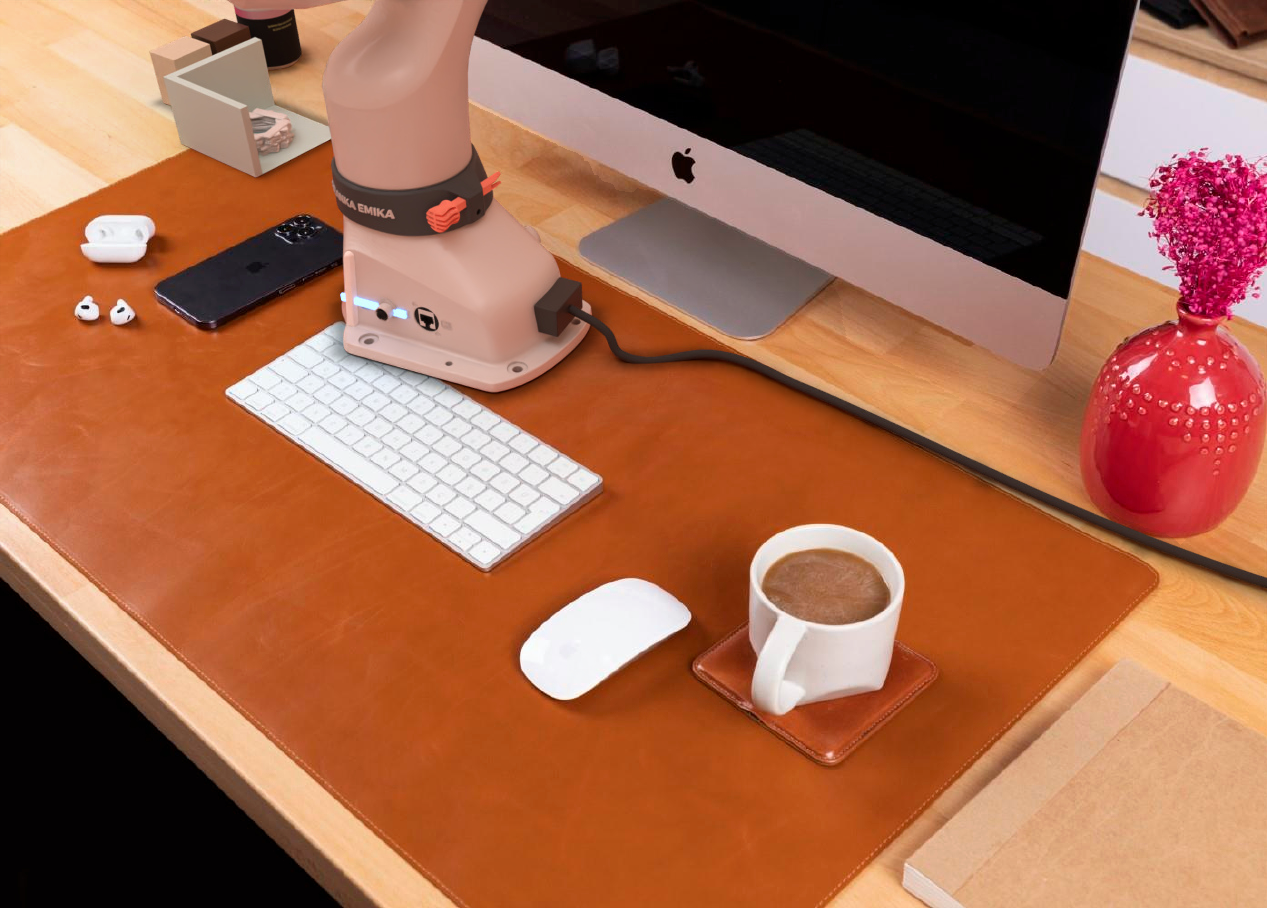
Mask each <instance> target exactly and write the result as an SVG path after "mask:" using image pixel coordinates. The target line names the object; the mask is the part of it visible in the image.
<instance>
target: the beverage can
mask: <svg viewBox="0 0 1267 908" xmlns="http://www.w3.org/2000/svg"><path fill="white" fill-rule="evenodd" d="M232 5H233V9H234V14H235V18H236V22H237V23H240V24H243V25H246V26H248V27H249V31H250V35H251V39H252V38H254V37H256V38H258V39H261V40H262V45H263V50H264V55H265V59H266V64H267V69H268V71H275V70H281V69H286V68H288V67H290V66H293V65H294V64H295V63H297V62H298V61H299V59H300V58H301V57H302V55H303V51H302V46H301V41H300V35H299V34H300V33H299V29H298V24H297V19H296V14H295V9H284V10H267V9H241V8H238V7H237V6H235V5H234V4H232Z"/></svg>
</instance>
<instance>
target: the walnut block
mask: <svg viewBox="0 0 1267 908" xmlns="http://www.w3.org/2000/svg"><path fill="white" fill-rule="evenodd" d="M190 38H193V39H196V40H199V41H202V42H205V43H208V44H210V48H211V52H212V56H213V55H215V54H217V53H220V52H222V51H224V50H227V49H229V48H231V47H234V46H236V45H238V44H241V43H243V42H245V41H247V40H250V39H251V35H250V31H249V27H248V26H246V25H243V24H240V23H237V21H234V20H230V19H227V18H222V19H220V20H218V21H216V22H213V23H211V24H209V25H206V26H204V27H202V28H200V29H198V30H195V31H193V32H191V33H190Z"/></svg>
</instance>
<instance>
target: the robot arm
mask: <svg viewBox="0 0 1267 908" xmlns="http://www.w3.org/2000/svg"><path fill="white" fill-rule="evenodd" d="M227 1H228V2H229V3H230V4H232V5H233V4H234V5H235V6H237V7H238V8H241V9H267V10H284V9H294V10H309V9H312V8H316V7H322V6H326V5H332V4H336V3H341V2H346V1H347V0H227ZM488 1H489V0H374V1H373V4H372V6H371V8H370V9H369V11H368V13H367V14H366V16H365V17H364V19H363V20H362V21H361V22H360V23H359V24H358V25H357V26H356V27H355V28H354V29H353V30H351V32H349V33H348V34H347V35H345V37H344V38H342V39H341V40H340V41H339V43H337V44H336V46H335V47H334V48H333V50H332V51H331V53H330V55H329V57H328V59H327V61H326V64H325V68H324V71H323V75H322V82H321V88H322V93H323V94H322V95H323V100H324V105H325V111H326V117H327V124H328V127H329V129H330V135H331V139H330V140H331V145H332V151H333V156H332V159H331V163H330V167H331V176H332V180H331V185H332V190H333V194H334V197H335V202H336V206H337V208H338V210H339V211H340V213H341V214H342V218H343V235H342V236H343V237H342V238H343V240H342V241H343V242H342V249H343V250H342V267H343V285H344V289H343V292H341V293H340V299H341V314H342V316H343V319H344V322H345V326H344V330H343V334H342V336H343V337H342V339H343V340H342V343H343V349H344V350H345V352H346V353H349V354H351V355H354V356H358V357H362V358H365V359H368V360H372V361H376V362H380V363H383V364H387V365H390V366H393V367H398V368H401V369H403V370H404V369H405V370H408V371H411V372H416V373H419V374H423V375H425V376H426V375H427V376H429V377H433V378H437V379H440V380H444V381H447V382H451V383H455V384H457V385H462V386H466V387H468V388H469V387H470V388H474V389H476V390H481V391H483V392H488V393H499V392H504V391H507V390H511V389H515V388H516V387H520V386H522V385H524V384H527V383H528V382H530V381H533V380H535V379H536V378H538V377H540V376H541V375H543V374H544V373H546V372H547V371H549V370H551V369H552V368H553V367H554V366H556V365H557V364H558V363H560V362H561V361H562V360H563V359H565V358H566V357H567V356H568V355H569V354H570V353H572V351H574V350H575V349H576V347H577V346H578V345H579V344H580V343H581V342H582V340H583V339H584V338H585V337H586V335H587V333H588V331H589V330H590V327H593V328H594V329H596V330H597V331H598V332H600V334H601V335H603V337H604V338H605V340H606V342H607V344H608V347H609V349H610V351H611V353H612V354H613V355H614V357H616V358H618V359H619V360H622V361H624V362H626V363H630V364H635V365H645V364H665V363H676V362H684V361H690V360H699V359H712V360H720V361H725V362H730V363H733V364H737V365H740V366H743V367H745V368H748V369H751V370H753V371H756V372H758V373H760V374H762V375H765V376H767V377H769V378H771V379H773V380H775V381H777V382H779V383H781V384H782V385H785V386H787V387H790V388H792V389H794V390H797V391H799V392H801V393H803V394H806V395H808V396H810V397H813V398H814V399H815V398H816V399H818V400H820V401H822V402H825V403H827V404H828V405H829V404H830V405H831V406H833V407H836V408H838V409H841V410H842V411H845V412H847V413H849V414H851V415H852V416H853V415H854V416H856V417H858V418H860V419H862V420H864V421H867V422H868V423H871V424H873V425H875V426H878V427H880V428H882V429H884V430H886V431H888V432H891V433H893V434H895V435H897V436H899V437H901V438H903V439H906V440H907V441H910V442H912V443H914V444H915V445H918V446H919V447H920V446H921V447H923V448H924V449H927V450H929V451H931V452H932V453H935V454H937V455H939V456H942V457H944V458H946V459H947V460H950V461H951V462H955V463H956V464H959V465H960V466H963V467H966V468H967V469H970V470H971V471H973V472H975V473H978V474H980V475H982V476H985V477H987V478H988V479H991V480H993V481H995V482H997V483H999V484H1002V485H1003V486H1006V487H1008V488H1011V489H1013V490H1014V491H1017V492H1019V493H1021V494H1023V495H1025V496H1028V497H1030V498H1032V499H1035V500H1036V501H1039V502H1040V503H1044V504H1046V505H1048V506H1050V507H1053V508H1055V509H1057V510H1060V511H1061V512H1064V513H1066V514H1069V515H1071V516H1073V517H1076V518H1077V519H1080V520H1083V521H1085V522H1088V523H1090V524H1091V525H1094V526H1097V527H1099V528H1101V529H1104V530H1106V531H1109V532H1111V533H1114V534H1116V535H1118V536H1121V537H1124V538H1125V539H1128V540H1131V541H1133V542H1136V543H1138V544H1141V545H1143V546H1145V547H1148V548H1151V549H1153V550H1156V551H1158V552H1161V553H1164V554H1167V555H1169V556H1172V557H1175V558H1177V559H1180V560H1181V561H1182V560H1183V561H1185V562H1188V563H1191V564H1193V565H1196V566H1199V567H1202V568H1203V569H1206V570H1210V571H1212V572H1216V573H1219V574H1221V575H1224V576H1227V577H1229V578H1233V579H1236V580H1239V581H1241V582H1245V583H1247V584H1250V585H1254V586H1257V587H1260V588H1263V589H1267V577H1266V576H1264V575H1260V574H1257V573H1254V572H1251V571H1249V570H1245V569H1242V568H1239V567H1236V566H1233V565H1230V564H1227V563H1224V562H1221V561H1218V560H1216V559H1213V558H1210V557H1207V556H1204V555H1201V554H1199V553H1196V552H1193V551H1190V550H1188V549H1185V548H1183V547H1180V546H1177V545H1174V544H1172V543H1169V542H1166V541H1163V540H1161V539H1158V538H1156V537H1154V536H1151V535H1149V534H1146V533H1143V532H1140V531H1138V530H1135V529H1133V528H1130V527H1128V526H1125V525H1123V524H1120V523H1118V522H1116V521H1113V520H1112V519H1108V518H1106V517H1104V516H1101V515H1100V514H1097V513H1094V512H1092V511H1090V510H1087V509H1084V508H1082V507H1080V506H1078V505H1076V504H1073V503H1071V502H1068V501H1067V500H1064V499H1061V498H1058V497H1057V496H1054V495H1052V494H1050V493H1047V492H1045V491H1043V490H1041V489H1038V488H1037V487H1034V486H1032V485H1030V484H1028V483H1025V482H1023V481H1021V480H1019V479H1016V478H1014V477H1013V476H1010V475H1007V474H1005V473H1003V472H1001V471H999V470H997V469H995V468H992V467H990V466H988V465H986V464H984V463H981V462H979V461H977V460H975V459H973V458H970V457H968V456H966V455H964V454H962V453H960V452H957V451H955V450H954V449H951V448H949V447H947V446H944V445H942V444H940V443H938V442H936V441H934V440H932V439H930V438H928V437H926V436H924V435H921V434H919V433H917V432H914V431H913V430H910V429H908V428H907V427H905V426H902V425H900V424H897V423H896V422H893V421H891V420H889V419H886V418H885V417H882V416H880V415H878V414H876V413H873V412H871V411H869V410H868V409H867V410H866V409H865V408H863V407H860V406H859V405H856V404H854V403H851V402H850V401H847V400H845V399H843V398H840V397H838V396H836V395H833V394H832V393H828V392H826V391H825V390H822V389H820V388H817V387H815V386H814V385H813V386H812V385H810V384H807V383H805V382H803V381H801V380H798V379H796V378H794V377H792V376H789V375H787V374H785V373H784V372H781V371H779V370H777V369H774V368H773V367H770V366H768V365H766V364H764V363H762V362H760V361H757V360H755V359H752V358H749V357H747V356H743V355H740V354H737V353H734V352H729V351H725V350H724V351H723V350H718V349H704V348H703V349H692V350H685V351H681V352H680V351H679V352H675V353H669V354H664V355H656V356H642V355H636V354H633V353H630V352H627V351H625V350H623V349H622V348H621V347H620V345H619V343H618V340H617V338H616V335H615V334H614V332H613V331H612V330H611V328H610V327H609V326H608V325H607V324H606V323H604V322H603V321H601V320H600V319H598V317H595V316H594V315H593V311H592V306H591V304H590V303H589V302H587V301H585V300H584V299H583V283H582V282H581V281H578V280H575V279H570V278H566V277H563V276H561V272H560V269H559V265H558V262H557V260H556V258H555V257H554V255H553V254H552V253H551V252H550V251H549V250H548V249H547V248H546V247H545V246H544V245H543V244H542V240H541V237H540V235H539V233H538V231H537V230H536V229H535V228H534V227H533V226H530V225H525V226H523V225H522V223H521V222H520V221H519V220H517V218H515V216H514V215H513V214H512V213H511V212H510V211H509V210H508V209H507V208H506V207H504V205H503V204H502V203H500V201H499V200H497V198H496V197H495V196H494V189H496V188H497V187H498V186H500V185H501V184H502V181H501V180H498V178H499V177H500V176H501V172H500V171H495V172H494V173H493V174H491V175H490V176H488V174H487V172H486V169H485V166H484V164H483V162H482V160H481V158H480V155H479V153H478V151H477V148H476V147H475V145H474V144H473V142H472V136H471V121H470V108H469V107H470V105H469V103H470V102H469V63H470V55H471V51H472V50H471V49H472V45H473V41H474V39H475V38H474V37H475V33H476V31H477V28H478V25H479V22H480V20H481V17H482V14H483V12H484V10H485V7H486V5H487V3H488ZM234 5H233V6H234ZM497 180H498V181H497Z"/></svg>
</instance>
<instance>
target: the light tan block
mask: <svg viewBox="0 0 1267 908" xmlns="http://www.w3.org/2000/svg"><path fill="white" fill-rule="evenodd" d="M149 55H150V60H151V63H152V66H153V70H154V74H155V77H156V81H157V86H158V90H159V93H160V96H161V100H162V103H163V104H165V105H168V106H170V107H171V104H170V100H169V97H168V93H167V89H166V85H165V82H164V78H163V77H164V76H166V75H169V74H171V73H173V72H176V71H178V70H180V69H183V68H185V67H187V66H190V65H192V64H194V63H196V62H199V61H201V60H203V59H206V58H208V57H210V56H212V52H211V48H210V44H208V43H205V42H202V41H199V40H196V39H193V38H191V36H187V35H184V36H181V37H179V38H177V39H175V40H172V41H170V42H168V43H165V44H163V45H161V46H159V47H156V48H154V49H151V50H150V51H149Z"/></svg>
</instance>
